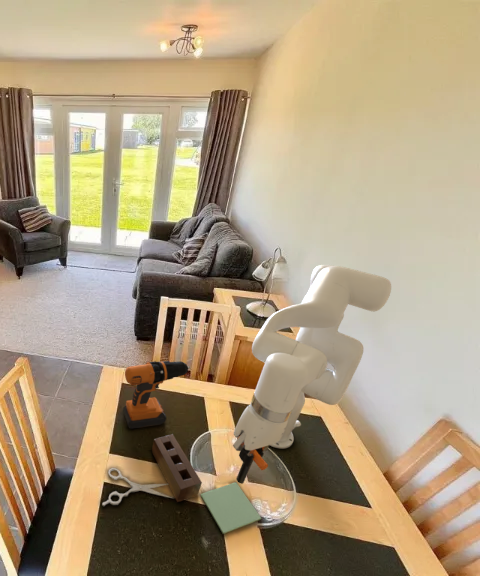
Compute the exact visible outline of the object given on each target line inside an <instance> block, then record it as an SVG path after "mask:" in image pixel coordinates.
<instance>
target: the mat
mask: <svg viewBox="0 0 480 576" xmlns="http://www.w3.org/2000/svg"><path fill="white" fill-rule="evenodd" d="M200 497H201V499H202V500H203V502H204V504H205V506H206V507H207V509H208V511H209V513H210V514H211V516H212V518H213V520H214V521H215V523H216V524H217V526H218V528H219V530H220V531H221V533H222V535H225V534H227V533H230V532H233V531H235V530H237V529H240V528H242V527H246V526H248V525H250V524H253V523H256V522H258V521H260V520H262V517H261V515H260V514H259V513H258V511H257V509H255V507H254V505H253V504H252V502H251V501H250V499H249V498H248V497H247V496H246V494H245V492H244V491H243V490H242V489H241V487H240V486H239V483H238V482H237V481H235V482H232V483H228V484H226V485H222V486H220V487H217V488H214V489H211V490H208V491H205V492H203V493H200Z"/></svg>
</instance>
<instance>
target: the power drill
mask: <svg viewBox="0 0 480 576" xmlns="http://www.w3.org/2000/svg"><path fill="white" fill-rule="evenodd" d="M190 368H191V366H188V365H187V363H185V362H184V361H170V360H165V361H156V360H155V361H154V360H153V361H147V362H145V364H139V365H129V366H127V367H126V368H125V370H124V378H125V380H126V383H127V384H129V385H130V386H132V387H135V386H136V387H135V388H134V391H133V394H132V399H129V400H126V401H125V406H123V409H122V413H123V415H124V419H125V421H126V424H127V427H128V428H129V429H138V428H146V427H147V428H148V427H154V426H160V425H163V423H165V422H166V421H167V415H166V414H165V411H164V409H163V406H162V404H161V402H160V401H159V399H158V398H157V397H155V396H154V397H151V393H152V392H155V391H157V390H158V389H159V388H160V387H159V385H160V384H164V382H165V381H170V380H173V379H174V378H178V377H183V376H185V375H186V374H187V373H188V371H189V369H190Z"/></svg>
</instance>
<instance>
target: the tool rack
mask: <svg viewBox="0 0 480 576" xmlns="http://www.w3.org/2000/svg"><path fill="white" fill-rule="evenodd" d="M151 447H152V448H151V453H152V455H153V457H154V459H155V461H156V463H157V465H158V467H159V469H160V471H161V473H162V475H163V477H164V479H165V481H166V484H168V485H167V486H168V487H169V489H170V491H171V492H172V495H173V496H174V497H173V498H174V499H175V500H176V503H180V502H182V501H186V500H188V499H191V498H195V497H197V496H199V494H200V491H201V490H200V489H201V487H202V484H203V482H202V480H201V479H200V477H199V475H198V474H197V472H196V471H195V468H194V467H193V465H192V463H191V462H190V460H189V459H188V457H187V455H186V453H185V452H184V451H183V449H182V447H181V445H180V444H179V442H178V440H177V439H176V437H175V435H174V434H173V433H172V434H168V435H165V436H161V437H156V438H154V439H153V442H152V446H151Z"/></svg>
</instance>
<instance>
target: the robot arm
mask: <svg viewBox="0 0 480 576" xmlns="http://www.w3.org/2000/svg"><path fill="white" fill-rule="evenodd" d="M309 281H310V282H309V288H308V291H307V292H306V294H305V296H304V297H303V299H302V301H301V303H297V304H293V305H289V306H286V307H284V308H281V309H279V310H277V311H276V312H273V313H272V314H271V315H270V316H269V317H268V318H266V320H265V322H264V323H263V324H262V327H261V328H260V330H259V331H258V332H257V334H256V336H255V337H254V340H253V342H252V344H251V354H252V355H253V356H254V358H255V359H256V360H258V361H260V362H262V363H264V364H263V367H262V369H261V373H260V376H259V378H258V381H257V384H256V386H255V389H254V393H253V394H252V397H251V401H250V404H248V405H247V406H246V408H245V409H244V410H243V412H242V414H241V416H240V417H239V419H238V421H237V423H236V425H235V428H234V431H233V436H234V437H235V438H237V439H236V441H234V443H233V444H232V447H233V448H234V450H235V451H237V452H239V453H238V456H239V459H240V461H241V462H242V463H243V462H244V464H245V465H246V466H247V467H250V465H251V462H252V460H253V458H254V455H253V453H254V450H256V451H257V452H258V453H259V454H260V456H261V457H262V458H263V456H264V454H265V452H267V450H268V449H269V446H271V447H273V448H276V449H288V448H290V447H291V446H292V445H293V443H294V440H295V438H294V434H293V430H295V429H296V428H299V427H301V426H302V423H301V421H300V420H298V419H299V416H300V414H301V412H302V410H303V408H304V407H305V403H306V397H305V395H307V396H309V397H311V398H313V399H315V400H317V401H319V402H322V403H324V404H326V405H329V406H335V405H338V404H339V403H340V402H341V401H342V399H343V398H344V396H345V393H346V392H347V390H348V388H349V386H350V383H351V382H352V380H353V378H354V375H355V373H356V371H357V369H358V367H359V365H360V364H361V363H360V362H361V361H362V358H363V355H364V344H363V342H361V340H359V339H357V338H355V337H353V336H351V335H348V334H344V333H341V332H340V331H339V328H340V325H341V324H342V322H343V319H344V318H345V311H346V310H347V307H348V305H350V306H352V307H355V308H358V309H362V310H366V311H369V312H378V311H380V310H381V309H383V307H385V305H386V303H387V302H388V300H389V298H390V296H391V293H392V282H391V281H390V279H388V278H386V277H384V276H380V275H377V274H375V273H374V274H373V273H368V272H365V271H361V270H357V269H355V268H350V267H346V266H341V265H332V264H320V265H317V266H315V268H314V269H313V270H312V273H311V275H310V280H309ZM288 328H299V330H298V331H297V334H296V337H295V339H294V338H292V337H290V336H287V335H284V334H282V333H279V332H278V331H280V330H283V329H288ZM328 364H329V365H330V366H332V367H333V369H330V368H328ZM239 436H240V437H239ZM238 437H239V438H238ZM252 463H253V462H252ZM251 466H252V465H251ZM250 468H251V467H250Z"/></svg>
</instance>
